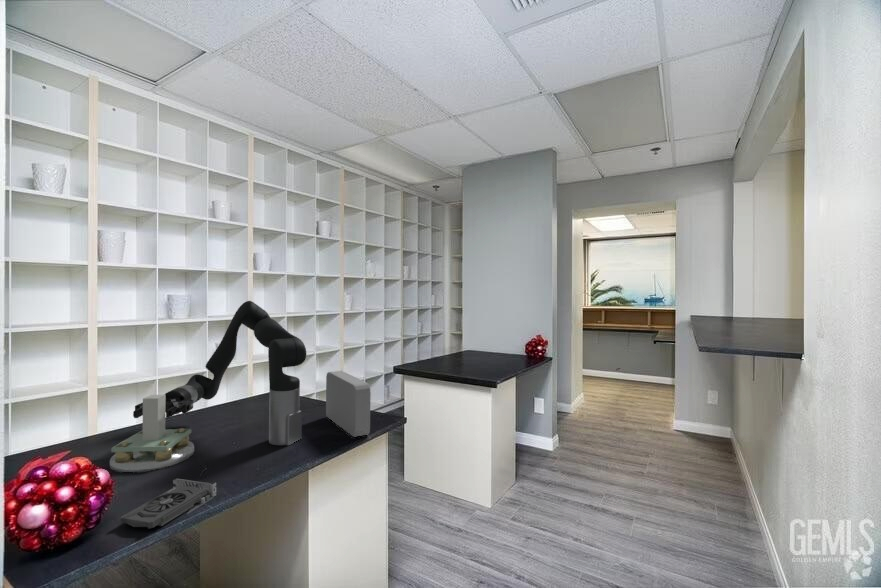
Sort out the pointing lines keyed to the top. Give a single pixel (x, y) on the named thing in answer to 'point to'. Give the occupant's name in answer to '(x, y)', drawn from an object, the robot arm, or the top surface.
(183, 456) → the chassis
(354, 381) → the gray rounded box
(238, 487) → the top surface
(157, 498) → the graphics card
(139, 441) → the plate with upright post
